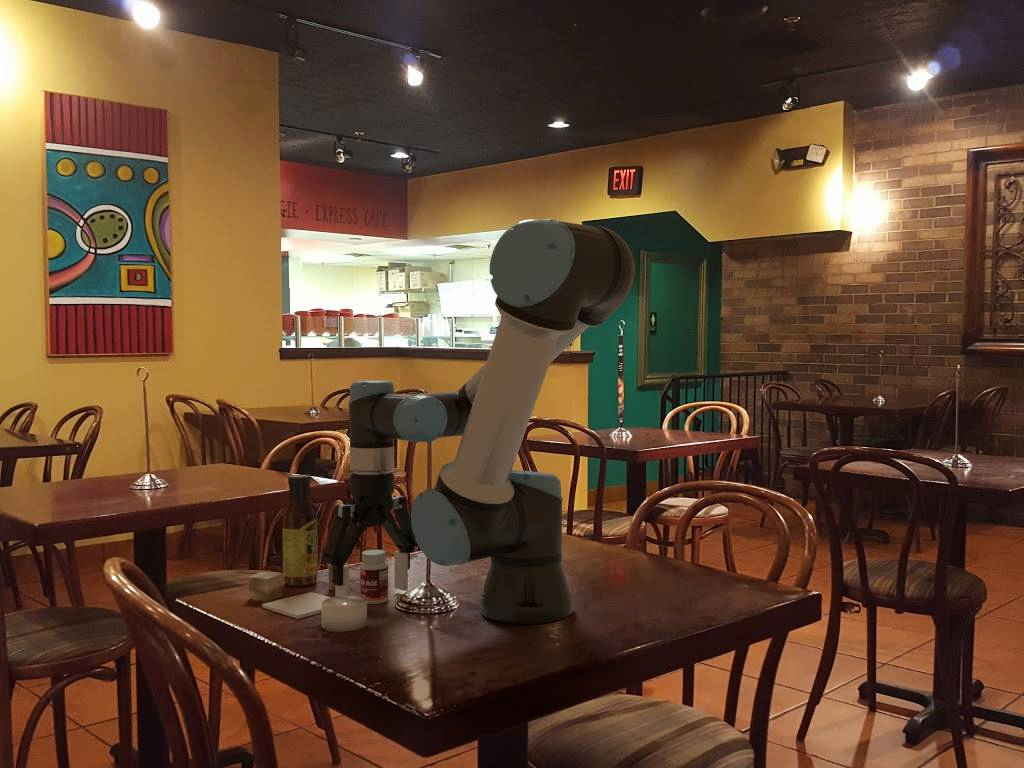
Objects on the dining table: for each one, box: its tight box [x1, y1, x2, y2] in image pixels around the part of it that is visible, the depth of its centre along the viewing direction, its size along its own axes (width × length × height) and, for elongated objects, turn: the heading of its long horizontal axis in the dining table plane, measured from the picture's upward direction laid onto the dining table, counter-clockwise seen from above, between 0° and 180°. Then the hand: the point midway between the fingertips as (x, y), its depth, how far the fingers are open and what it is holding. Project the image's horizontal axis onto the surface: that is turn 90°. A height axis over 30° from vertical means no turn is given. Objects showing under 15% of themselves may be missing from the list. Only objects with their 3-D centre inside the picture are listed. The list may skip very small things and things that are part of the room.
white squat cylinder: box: [321, 595, 368, 633], centre depth 148 cm, size 7×7×4 cm
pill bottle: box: [359, 549, 389, 605], centre depth 161 cm, size 5×5×8 cm
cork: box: [327, 562, 350, 592], centre depth 169 cm, size 4×4×4 cm
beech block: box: [248, 571, 283, 603], centre depth 164 cm, size 4×4×4 cm
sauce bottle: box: [282, 474, 319, 587], centre depth 173 cm, size 6×6×20 cm
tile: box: [261, 591, 332, 620], centre depth 158 cm, size 10×10×1 cm
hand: (372, 596), depth 161 cm, fingers open, 12 cm apart
